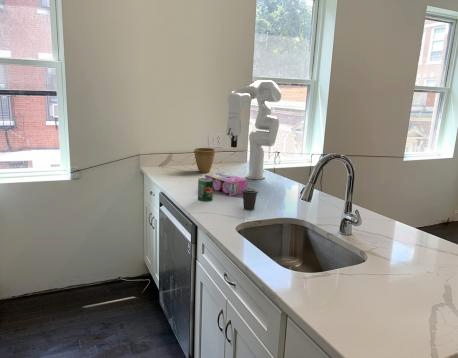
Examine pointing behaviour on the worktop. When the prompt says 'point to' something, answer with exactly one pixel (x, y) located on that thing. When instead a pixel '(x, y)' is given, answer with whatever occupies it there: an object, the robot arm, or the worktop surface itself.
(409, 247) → the worktop surface
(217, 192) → the mat
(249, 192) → the dark tapered cylinder
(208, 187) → the canned tomato
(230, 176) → the gum box
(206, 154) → the plant pot
